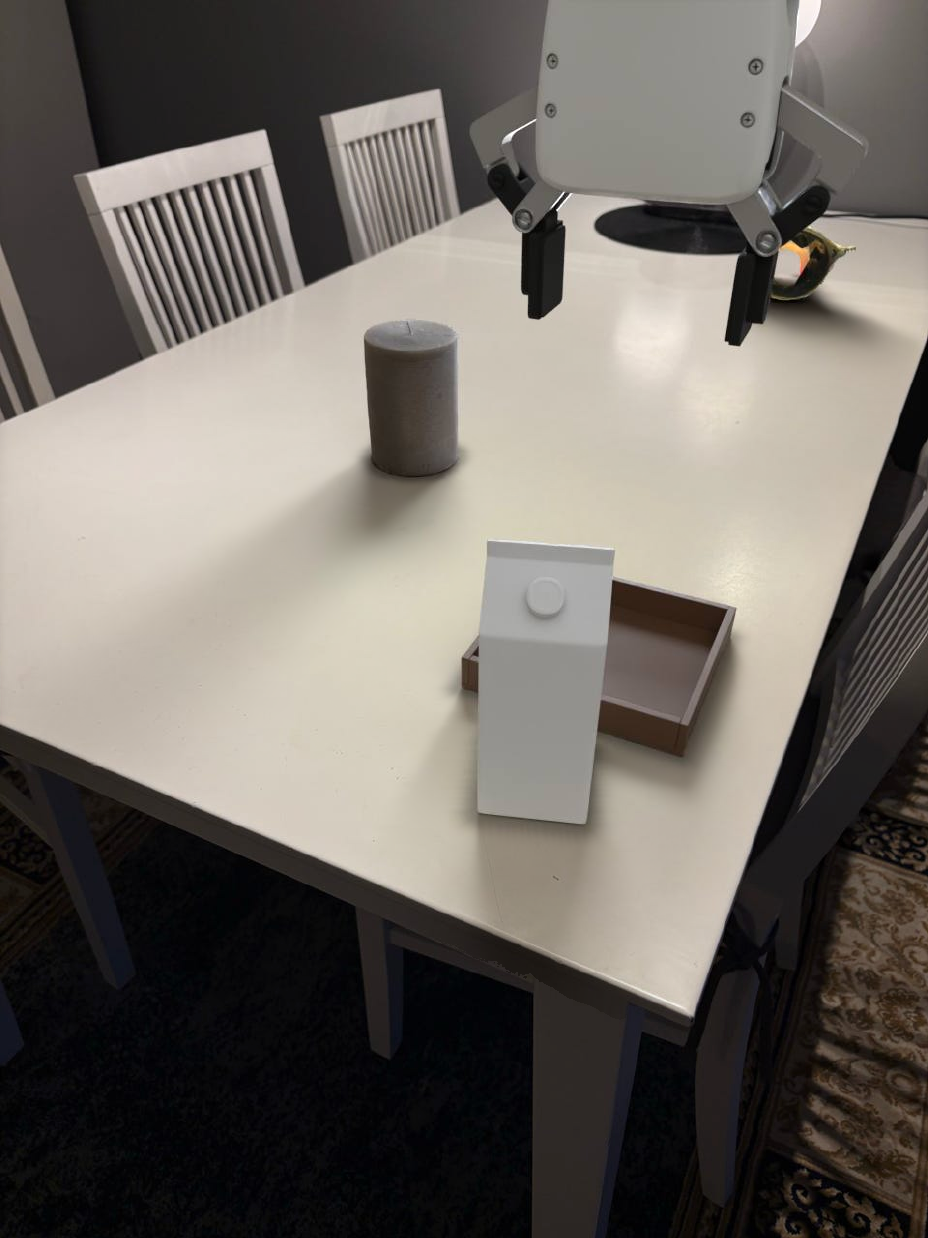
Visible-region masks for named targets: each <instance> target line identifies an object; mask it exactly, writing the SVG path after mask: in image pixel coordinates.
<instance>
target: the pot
mask: <svg viewBox="0 0 928 1238" xmlns="http://www.w3.org/2000/svg"><path fill="white" fill-rule="evenodd" d="M857 248H858V246H857V245H849V246H844V245H840V244H838V243H837V242H835V241H832V240H831V239H830V238H828V237H826V236H825V235H824V234H823V233H822V232H821V231H819V230H818V229H816V228H814V227H811V226H808V227H807V228H805V229H804V230H803V231H802V232H800V233H799V234H798V235H796V236H795V237H794V238H793V239H791V240H790V241H789V242H787V243H786V244H785V245H784V246H782V247H781V248H780V249H779V251H781V250H788V251H791V252H794V253H796V254H797V256H798V258H799V273H798V278H797V279H796V281H795V283H794V284H793V285H789V286H785V287H782V286H781V285H779V284H778V283H777V282H776V281H775V280H774V281H773V286H772V292H771V297H770V298H771V299H772V298H773V299H776V300H780V301H781V300H782V301H790V300H800V299H802V298H806V297H808V296H810V295H811V293H814V292H815V291H816V290H818V288H819V286H820V285H823V283H824V282H825V280H826V278H827V277H828V276H829V274H830V273H831V272H832V271H833V269H834V266H835V264H836V263H837V262H838V260H839V259H841V258H843V257H844V256H846V253H850V252H852V251H855V252H856V251H857Z"/></svg>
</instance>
